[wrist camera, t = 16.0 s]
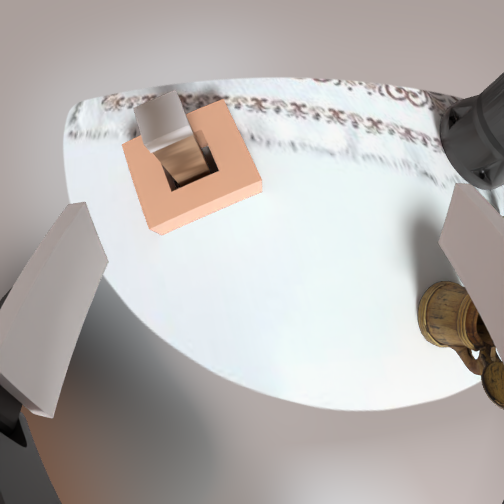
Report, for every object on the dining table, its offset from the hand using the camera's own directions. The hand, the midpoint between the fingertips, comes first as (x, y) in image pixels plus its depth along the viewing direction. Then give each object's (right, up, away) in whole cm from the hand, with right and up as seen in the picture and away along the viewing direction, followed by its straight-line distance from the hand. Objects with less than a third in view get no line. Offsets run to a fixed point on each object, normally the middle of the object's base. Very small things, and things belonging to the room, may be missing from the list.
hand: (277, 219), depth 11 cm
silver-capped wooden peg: (-8, +9, +31) cm, 33 cm away
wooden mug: (+26, -12, +28) cm, 40 cm away
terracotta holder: (-8, +9, +31) cm, 33 cm away
